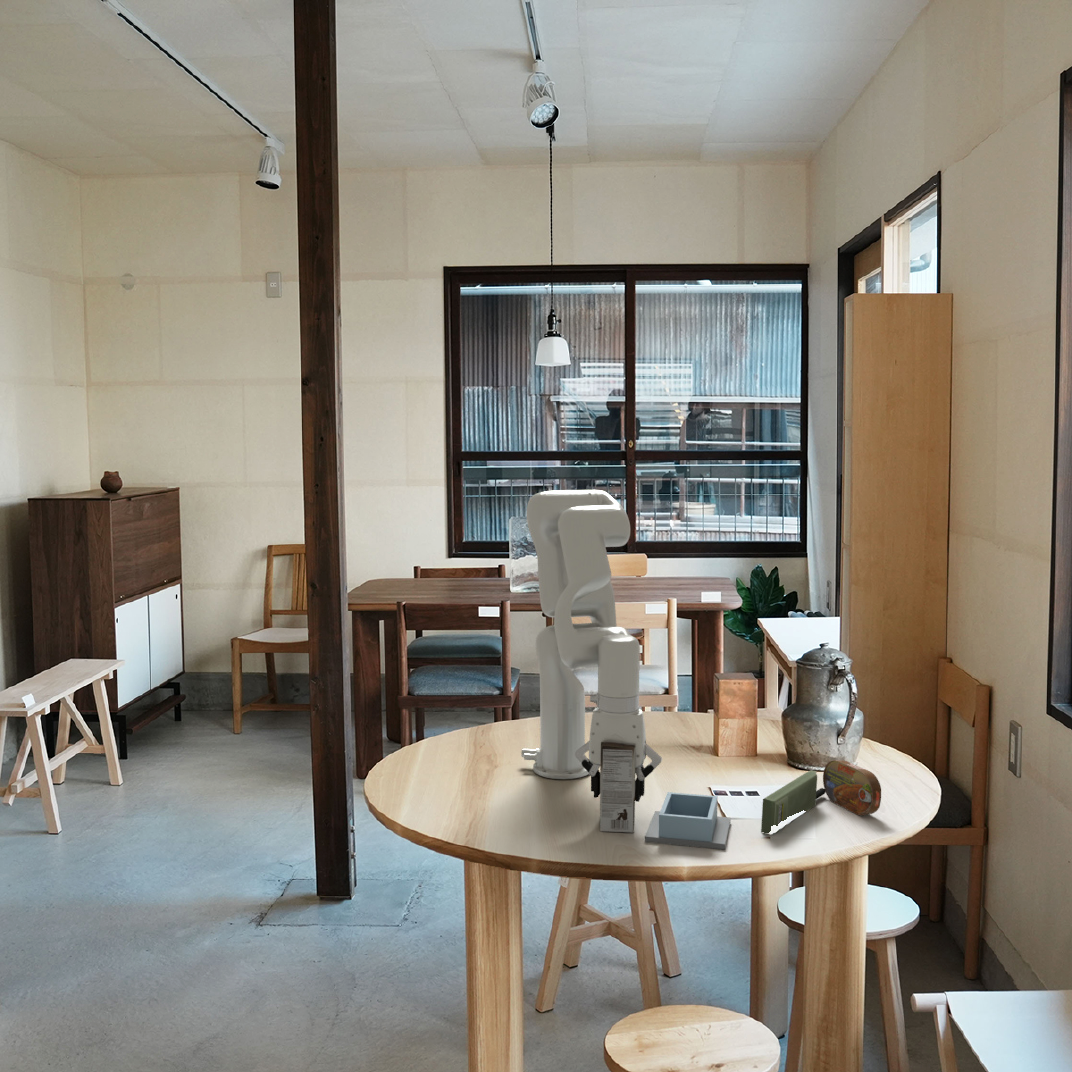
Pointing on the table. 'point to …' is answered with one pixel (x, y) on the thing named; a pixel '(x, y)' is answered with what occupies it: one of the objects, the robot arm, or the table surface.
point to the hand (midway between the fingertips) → (617, 796)
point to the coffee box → (617, 787)
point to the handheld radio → (790, 800)
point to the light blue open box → (689, 822)
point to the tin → (852, 787)
